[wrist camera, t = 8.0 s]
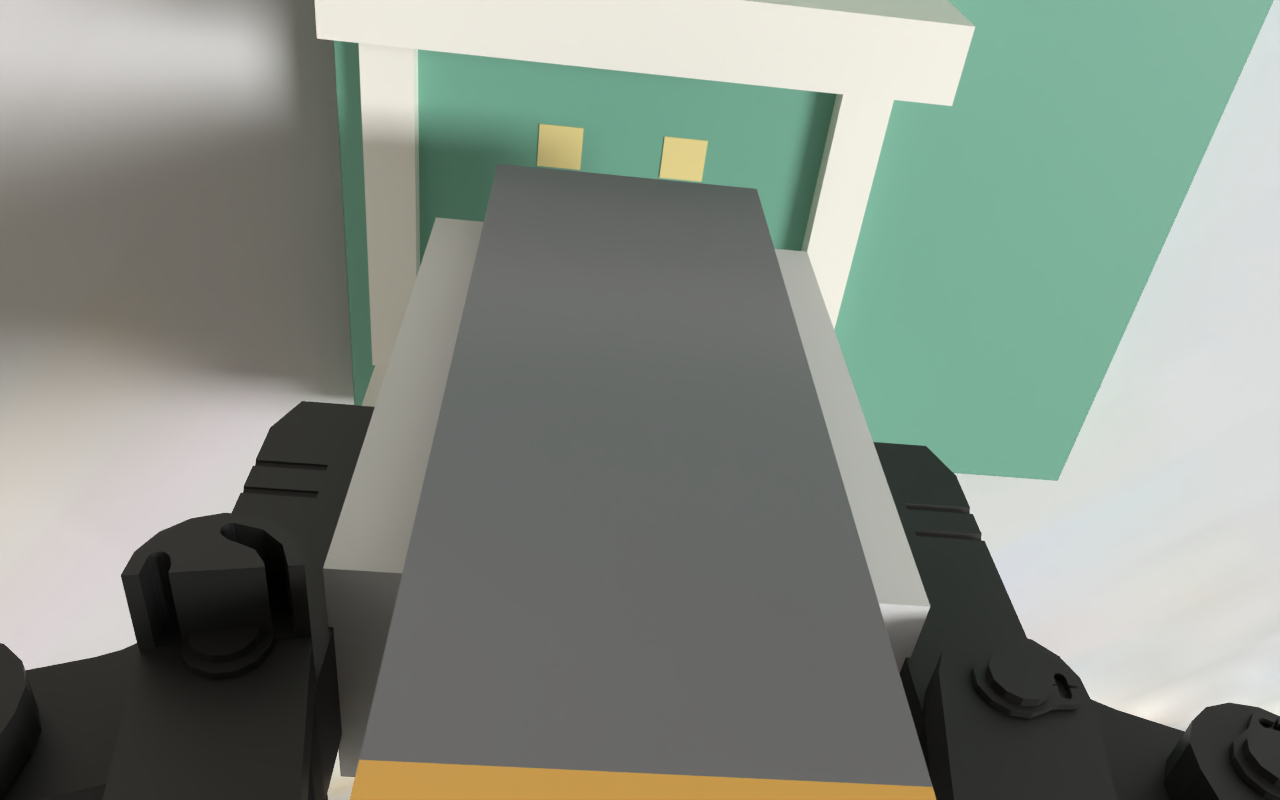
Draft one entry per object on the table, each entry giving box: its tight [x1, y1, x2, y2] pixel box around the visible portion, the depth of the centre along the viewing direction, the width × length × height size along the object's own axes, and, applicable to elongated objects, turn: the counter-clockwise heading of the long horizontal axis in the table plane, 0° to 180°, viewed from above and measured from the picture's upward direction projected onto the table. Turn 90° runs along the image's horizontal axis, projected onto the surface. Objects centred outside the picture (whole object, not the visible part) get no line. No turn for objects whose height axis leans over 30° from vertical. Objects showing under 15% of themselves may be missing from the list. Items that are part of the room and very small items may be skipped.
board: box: [314, 0, 1273, 481], centre depth 15 cm, size 16×14×4 cm
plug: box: [350, 164, 936, 800], centre depth 11 cm, size 5×4×10 cm
